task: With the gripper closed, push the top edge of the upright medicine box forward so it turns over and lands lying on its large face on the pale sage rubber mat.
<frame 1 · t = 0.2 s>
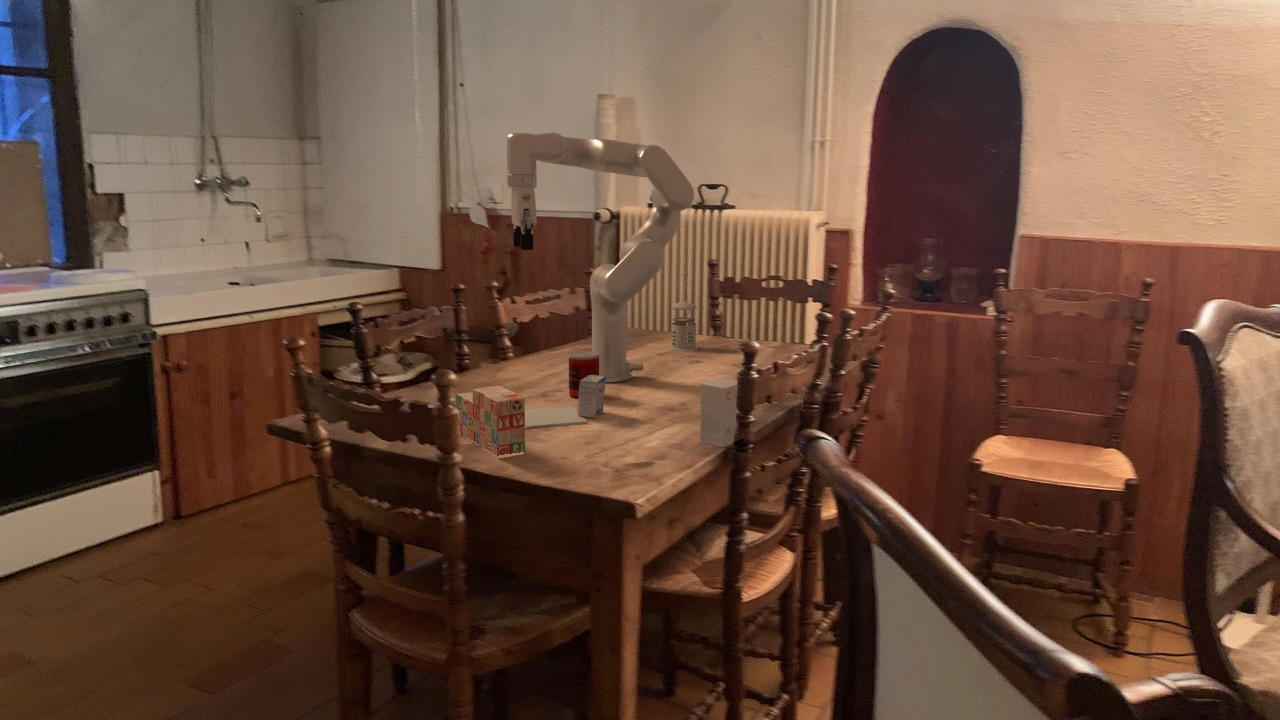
hand: (523, 248, 248), 37 cm above the table, tool pointing down, fingers open, 9 cm apart
mat: (542, 418, 220), on the table
stack of blocks: (490, 445, 200), on the table
canned food: (584, 396, 243), on the table
medicine box: (590, 414, 224), on the table, touching mat
small box: (722, 442, 204), on the table
grey lantern: (684, 348, 308), on the table
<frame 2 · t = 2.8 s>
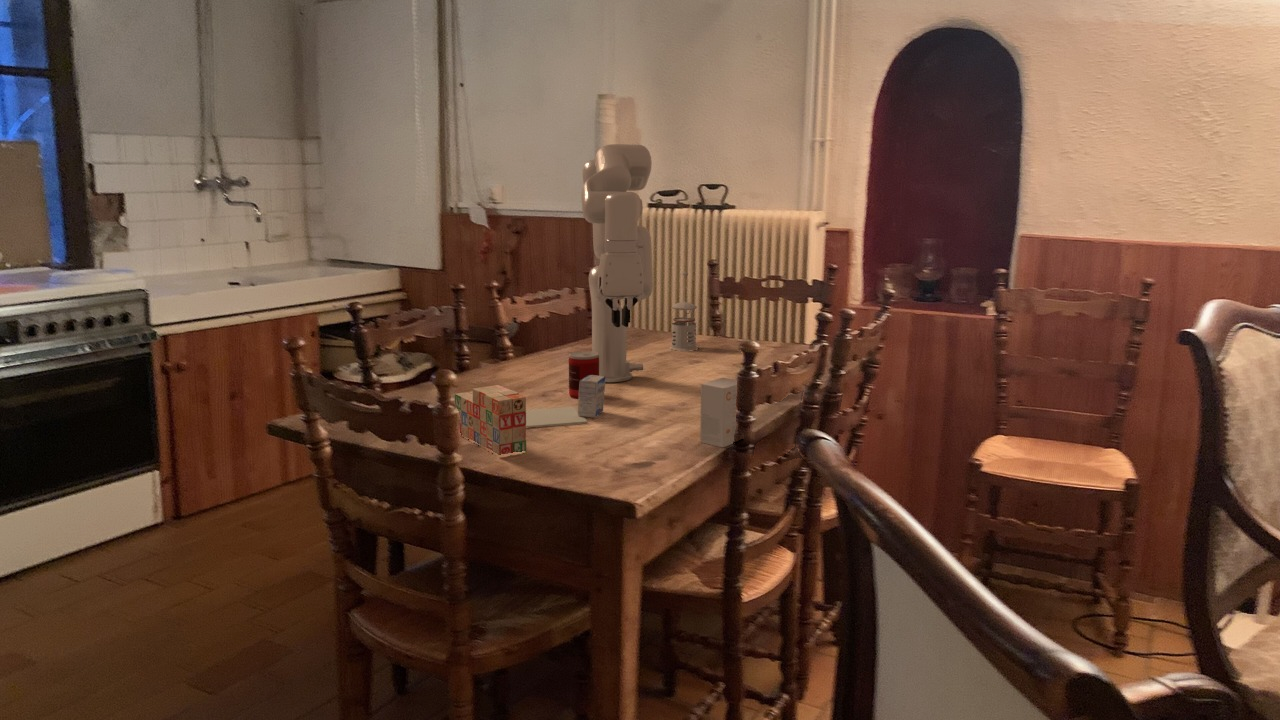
hand: (620, 325, 222), 21 cm above the table, tool pointing down, fingers closed
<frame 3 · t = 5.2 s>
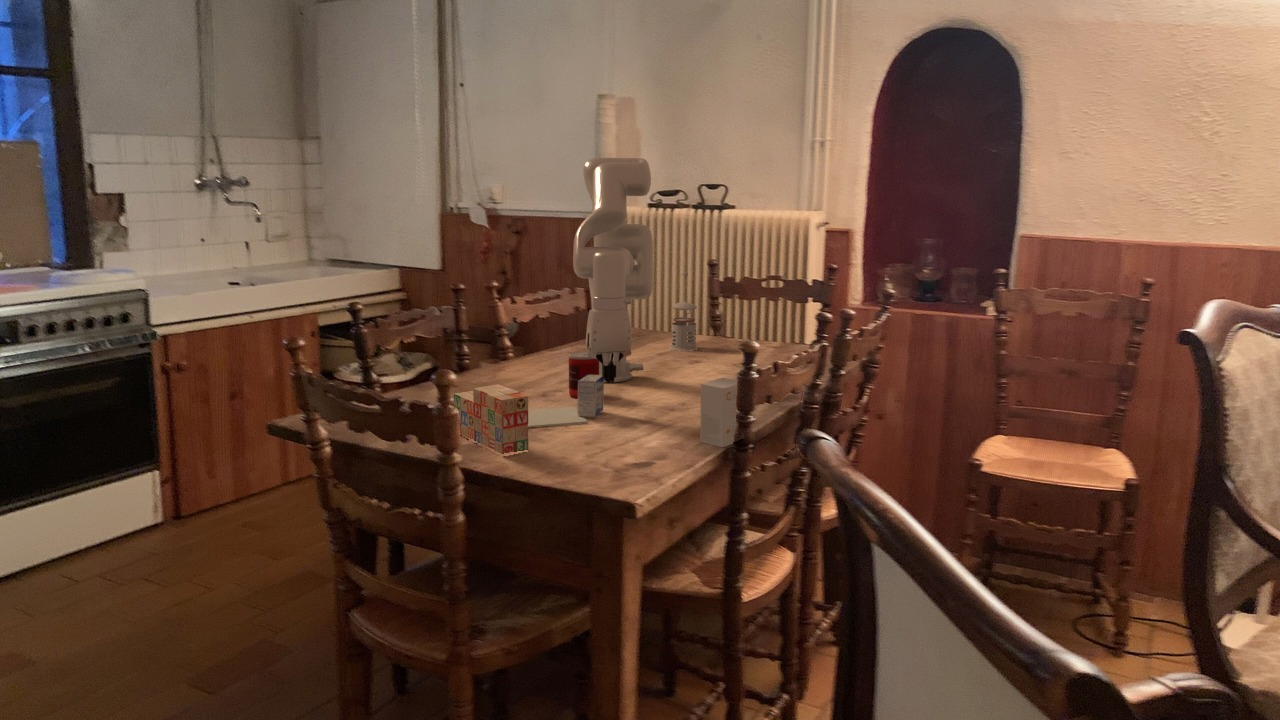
hand: (609, 380, 224), 8 cm above the table, tool pointing down, fingers closed
medicine box: (590, 414, 224), on the table, touching gripper, mat
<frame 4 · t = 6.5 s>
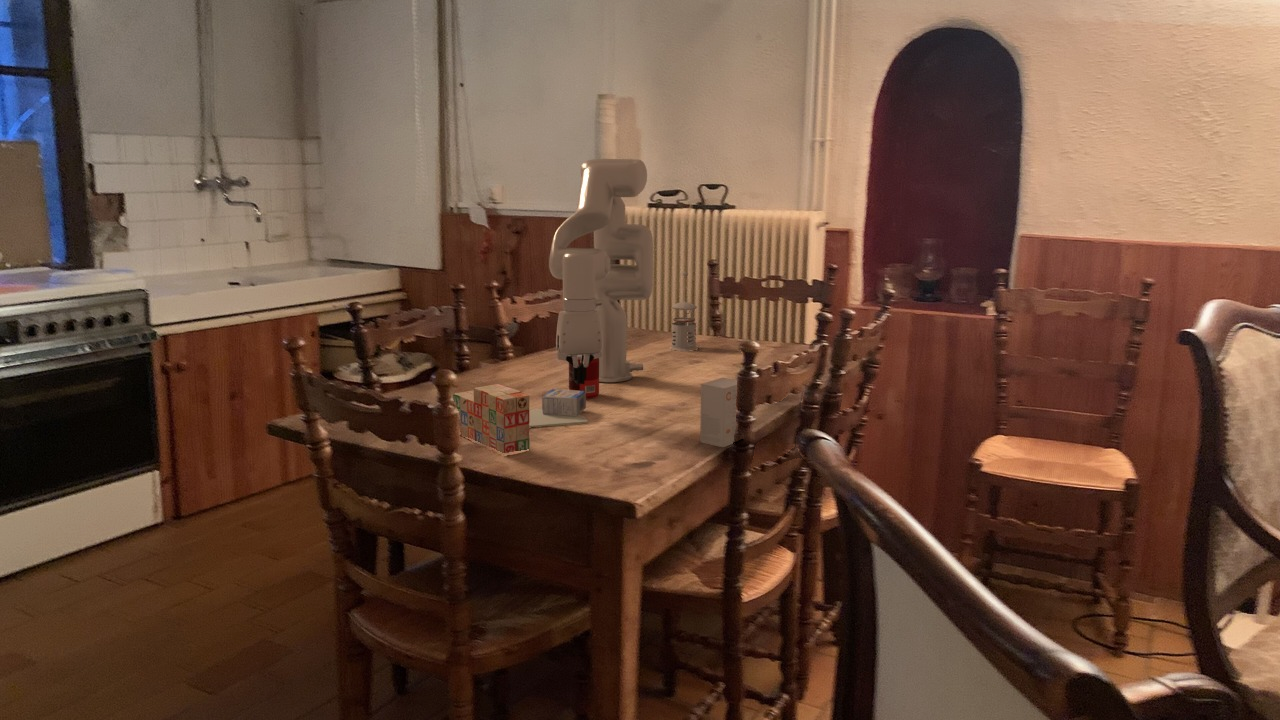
hand: (579, 383, 222), 8 cm above the table, tool pointing down, fingers closed
medicine box: (582, 403, 224), point 3 cm above the table, touching mat
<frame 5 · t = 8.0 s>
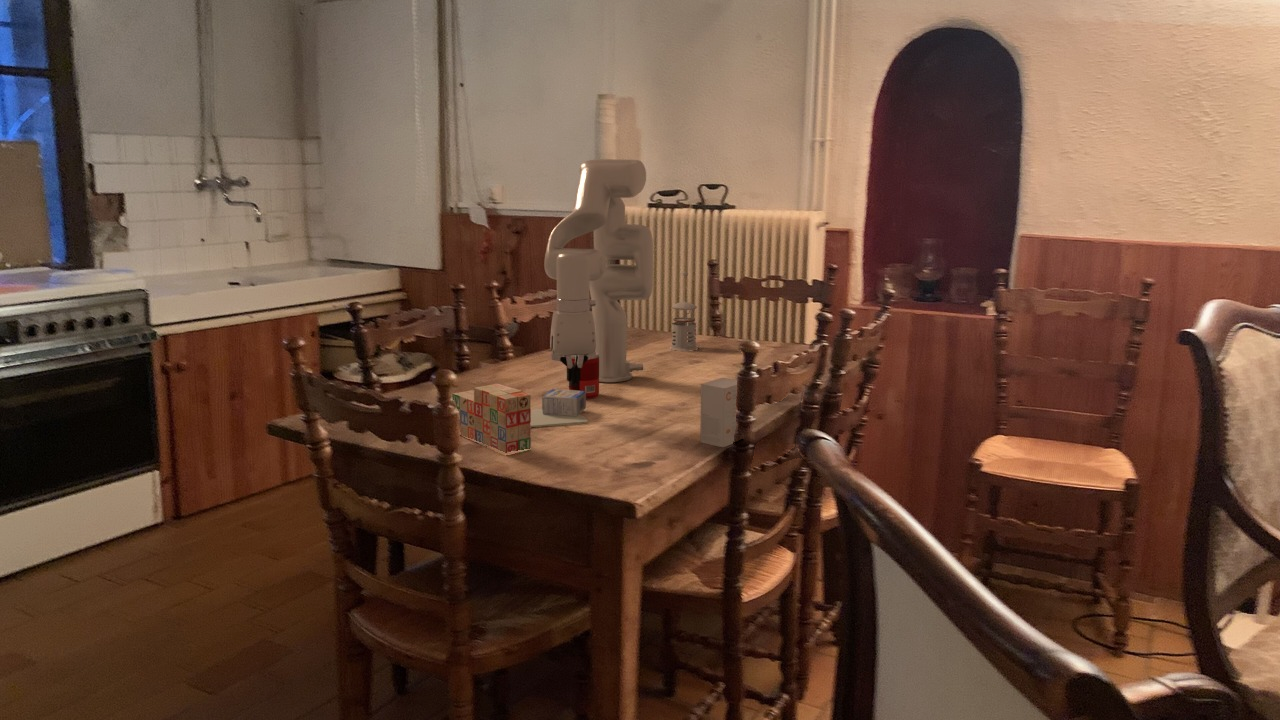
hand: (573, 383, 221), 8 cm above the table, tool pointing down, fingers closed
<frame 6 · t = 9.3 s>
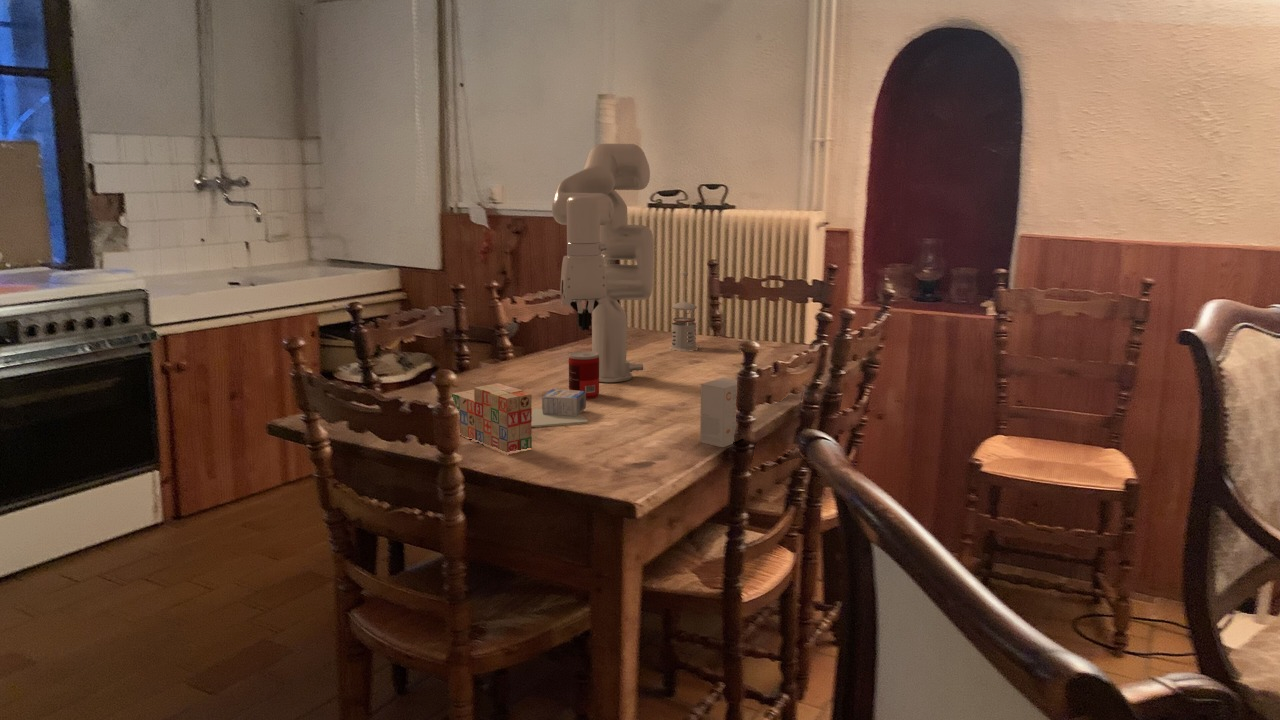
hand: (584, 329, 220), 21 cm above the table, tool pointing down, fingers closed
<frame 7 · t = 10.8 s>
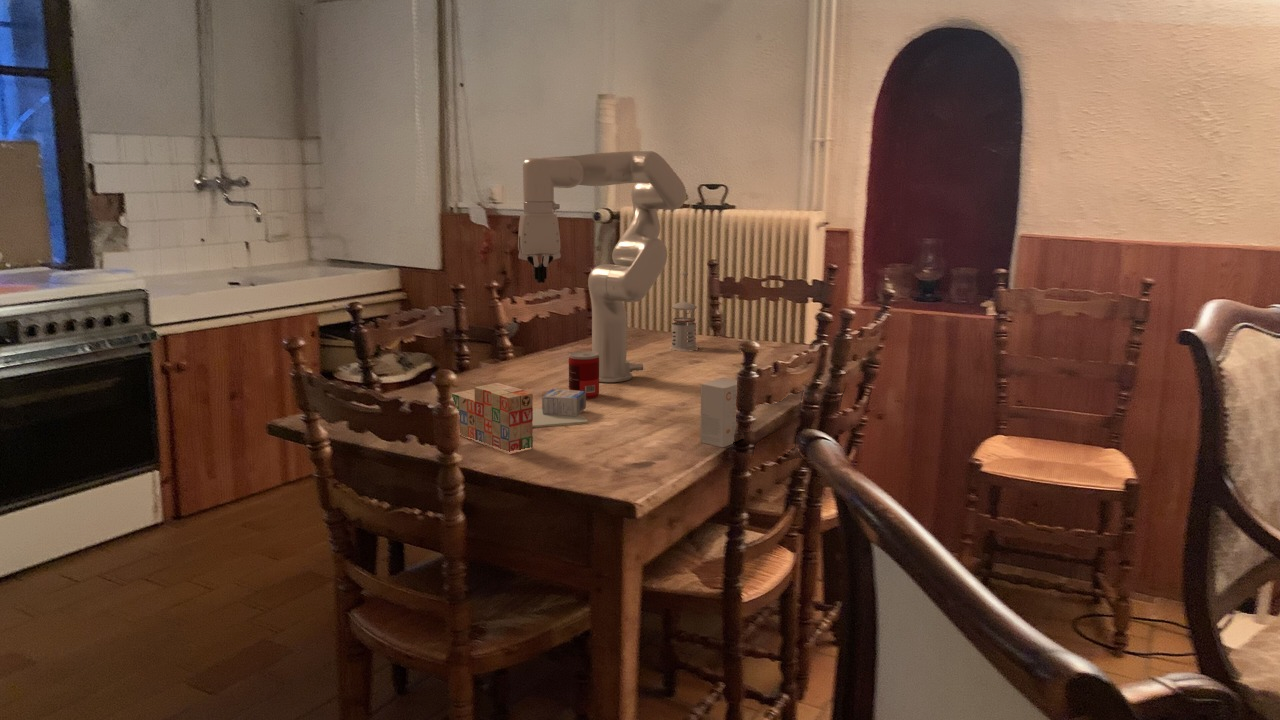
hand: (540, 282, 239), 29 cm above the table, tool pointing down, fingers closed
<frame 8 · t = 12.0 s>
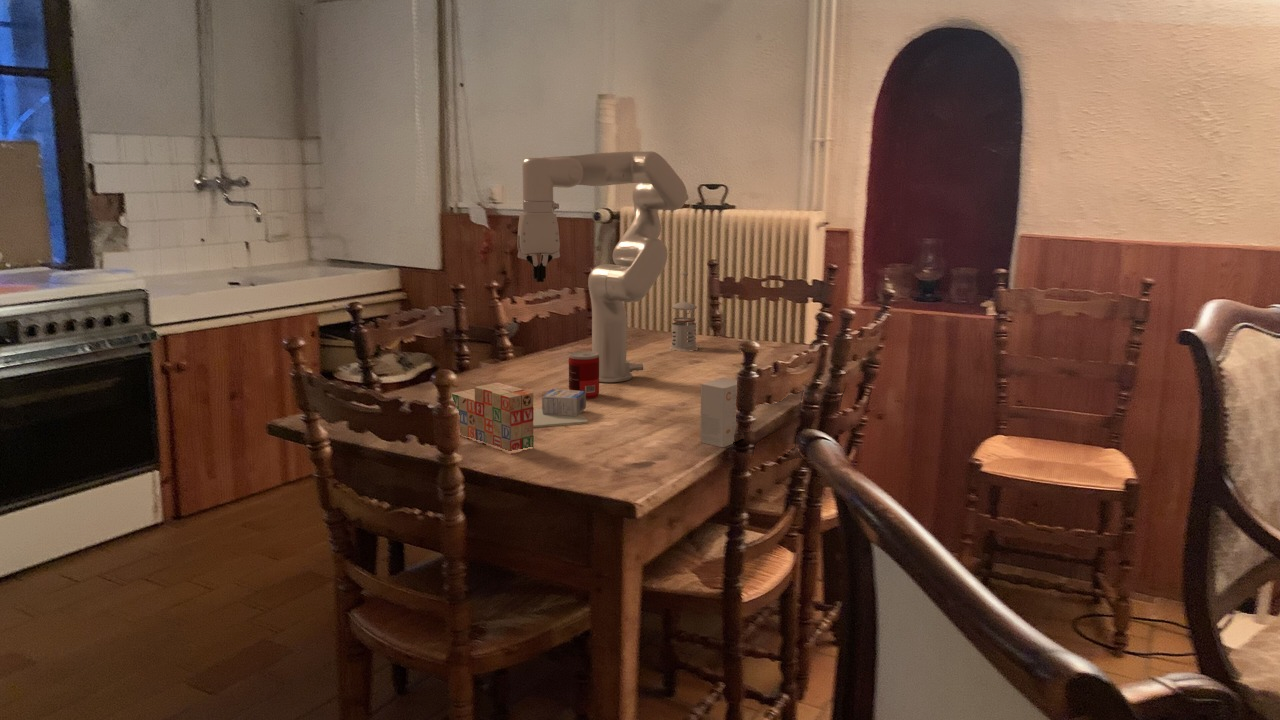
hand: (539, 281, 239), 29 cm above the table, tool pointing down, fingers closed
at the end: medicine box tilted 89°; medicine box inside the target area on the mat (8.9 cm from its centre), point 2.6 cm above the mat's base; the gripper is holding nothing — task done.
